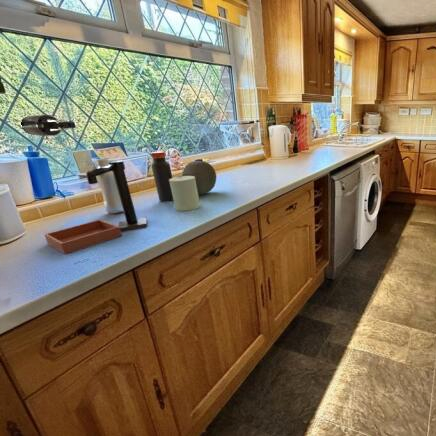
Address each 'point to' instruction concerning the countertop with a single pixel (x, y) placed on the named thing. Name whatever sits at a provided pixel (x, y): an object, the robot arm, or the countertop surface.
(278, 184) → the countertop surface
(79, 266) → the countertop surface
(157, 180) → the vinegar
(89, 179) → the spout
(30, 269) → the countertop surface
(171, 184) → the can
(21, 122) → the robot arm
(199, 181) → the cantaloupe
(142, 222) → the faucet base
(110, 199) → the plastic bottle
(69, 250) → the reddish brown tray
